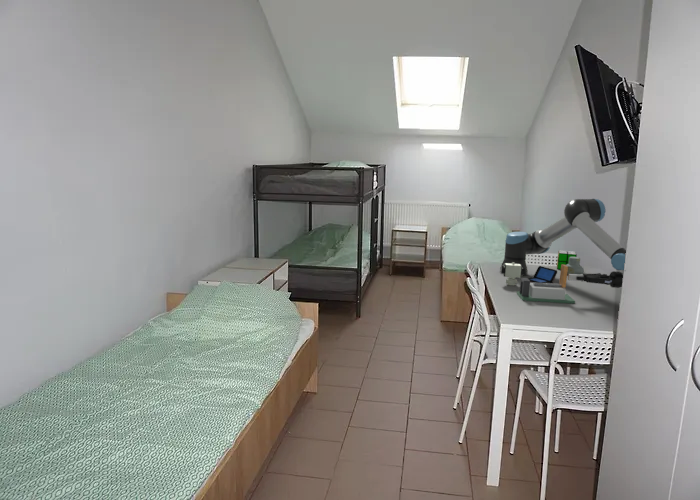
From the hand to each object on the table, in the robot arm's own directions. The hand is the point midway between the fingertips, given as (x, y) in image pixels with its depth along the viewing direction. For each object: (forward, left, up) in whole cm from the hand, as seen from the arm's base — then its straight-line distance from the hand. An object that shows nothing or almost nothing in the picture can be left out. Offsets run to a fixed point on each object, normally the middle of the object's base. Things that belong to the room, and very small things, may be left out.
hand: (568, 277), depth 256 cm
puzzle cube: (-37, +69, -12) cm, 79 cm away
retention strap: (-7, -5, -5) cm, 10 cm away
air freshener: (-26, +57, -12) cm, 64 cm away
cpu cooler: (-7, -6, -11) cm, 15 cm away
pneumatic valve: (-32, +4, -12) cm, 35 cm away
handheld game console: (-27, +23, -12) cm, 38 cm away
